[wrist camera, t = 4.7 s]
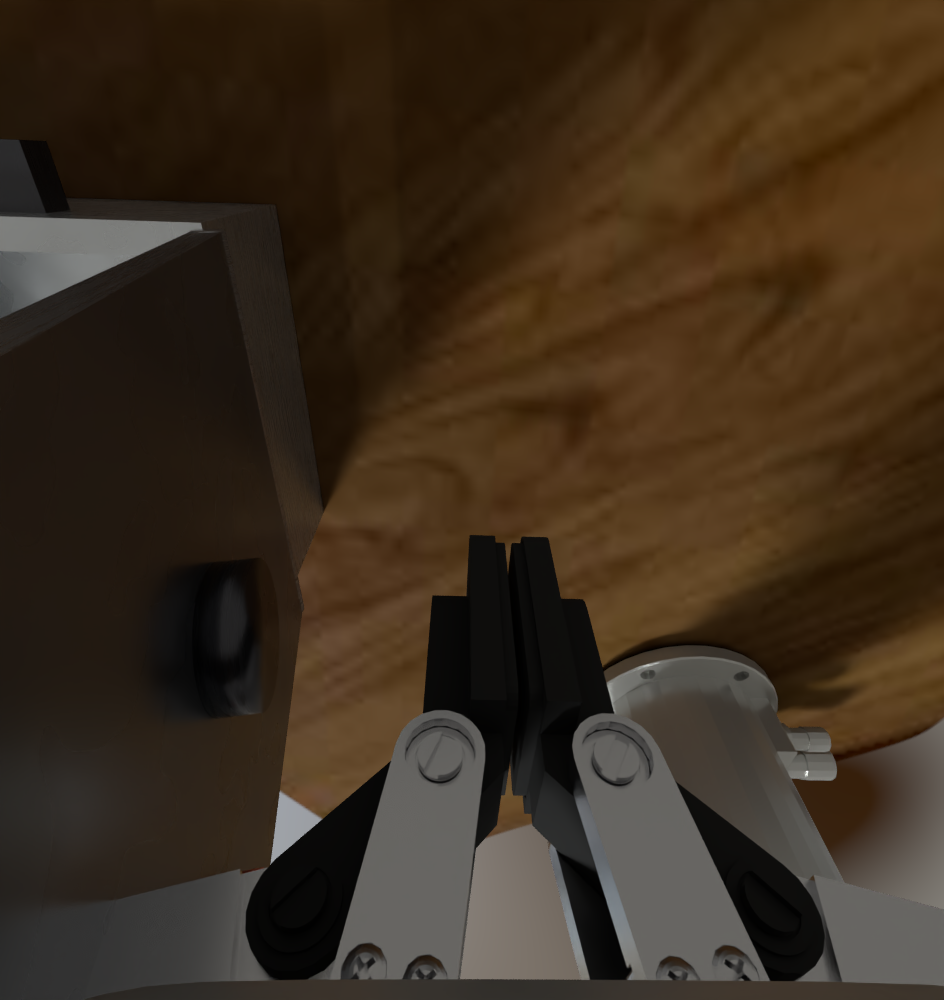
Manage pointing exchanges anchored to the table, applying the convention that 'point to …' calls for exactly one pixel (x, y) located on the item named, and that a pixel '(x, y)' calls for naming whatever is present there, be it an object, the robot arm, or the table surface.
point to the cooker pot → (137, 229)
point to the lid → (135, 604)
